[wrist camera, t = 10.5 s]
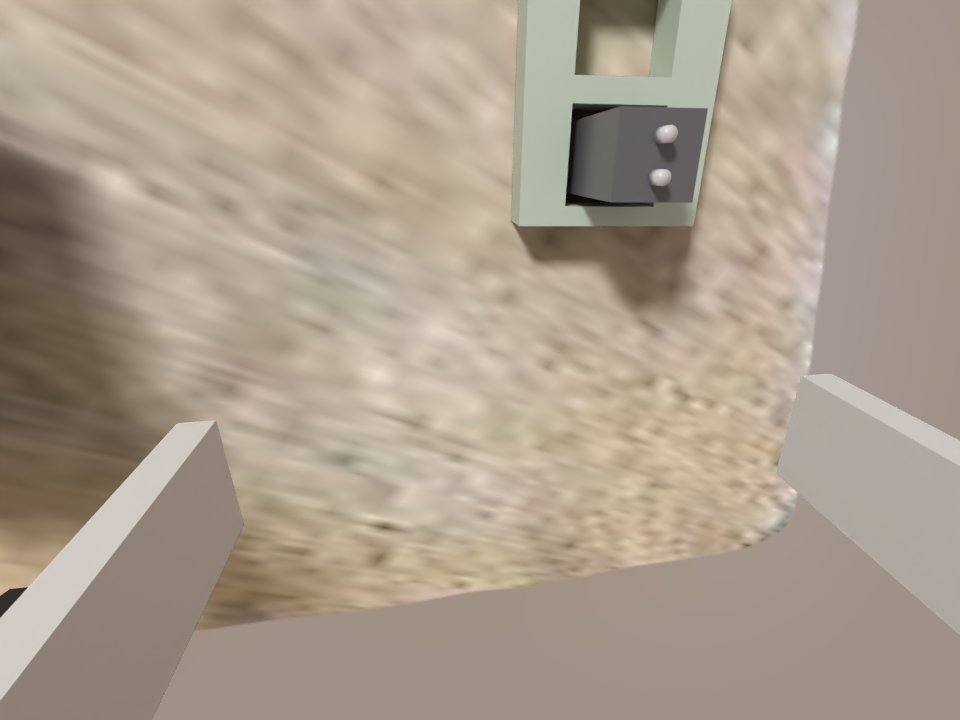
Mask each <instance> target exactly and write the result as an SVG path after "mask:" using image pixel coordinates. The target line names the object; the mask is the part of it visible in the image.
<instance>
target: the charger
mask: <svg viewBox="0 0 960 720" xmlns="http://www.w3.org/2000/svg"><path fill="white" fill-rule="evenodd" d="M707 111H708V108H673V107H629V106H620V107H617V108H614V109H610V110H607V111H604V112H601V113H597V114H594V115H591V116H588V117H584V118H581V119H578V120H575V121H571V132H570V146H569V160H568V173H567V187H566V193H569V194H574V195H579V196H583V197H588V198H593V199H597V200H602V201H607V202H652V203H692V202H693V196H694V190H695V184H696V178H697V172H698V166H699V160H700V154H701V148H702V142H703V135H704V129H705V123H706V117H707Z"/></svg>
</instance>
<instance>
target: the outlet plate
mask: <svg viewBox="0 0 960 720" xmlns="http://www.w3.org/2000/svg"><path fill="white" fill-rule="evenodd" d="M731 2H732V0H658V7H657V15H656V23H655V31H654V39H653V47H652V55H651V64H650V72H649V77H631V76H597V75H575V64H576V50H577V36H578V22H579V9H580V0H518V24H517V53H516V83H515V113H514V143H513V173H512V203H511V221H512V222H514V223H515V224H517V225H518V226H694V220H695V214H696V208H697V202H698V197H699V191H700V185H701V179H702V173H703V167H704V161H705V155H706V149H707V144H708V138H709V132H710V126H711V120H712V114H713V108H714V102H715V96H716V91H717V85H718V79H719V73H720V67H721V61H722V55H723V49H724V44H725V38H726V32H727V26H728V20H729V14H730V8H731ZM620 106H629V107H673V108H708V111H707V117H706V123H705V129H704V135H703V142H702V148H701V154H700V160H699V166H698V172H697V178H696V184H695V190H694V196H693V202H692V203H652V202H633V203H565V201H566V187H567V173H568V160H569V146H570V132H571V118H572V110H610V109H614V108H617V107H620Z"/></svg>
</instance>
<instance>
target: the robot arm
mask: <svg viewBox="0 0 960 720" xmlns="http://www.w3.org/2000/svg"><path fill="white" fill-rule="evenodd" d="M776 474H777V475H778V476H779V477H781V478H782V479H783V480H784V481H785V482H786V483H787V484H789V485H790V486H791V487H792V488H793V489H794V490H795V491H796V492H798V493H799V494H800V495H801V496H802V497H803V498H805V499H806V500H807V501H808V502H809V503H810V504H811V505H812V506H814V507H815V508H816V509H817V510H818V511H819V512H820V513H822V514H823V515H824V516H825V517H826V518H827V519H828V520H829V521H831V522H832V523H833V524H834V525H835V526H836V527H838V528H839V529H840V530H841V531H842V532H843V533H844V534H845V535H847V536H848V537H849V538H850V539H851V540H852V541H853V542H854V543H856V544H857V545H858V546H859V547H860V548H861V549H862V550H864V551H865V552H866V553H867V554H868V555H869V556H870V557H872V558H873V559H874V560H875V561H876V562H877V563H879V564H880V565H881V566H882V567H883V568H884V569H885V570H887V571H888V572H889V573H890V574H891V575H892V576H893V577H894V578H895V579H897V580H898V581H899V582H900V583H901V584H902V585H903V586H905V587H906V588H907V589H908V590H909V591H910V592H911V593H913V594H914V595H915V596H916V597H917V598H918V599H919V600H920V601H922V602H923V603H924V604H925V605H926V606H927V607H928V608H930V609H931V610H932V611H933V612H934V613H935V614H936V615H938V616H939V617H940V618H941V619H942V620H943V621H944V622H946V623H947V624H948V625H949V626H950V627H951V628H952V629H954V630H955V631H956V632H957V633H958V634H959V635H960V441H959V440H957V439H955V438H953V437H951V436H949V435H948V434H946V433H944V432H942V431H940V430H938V429H936V428H934V427H932V426H930V425H928V424H927V423H925V422H923V421H921V420H919V419H917V418H915V417H913V416H911V415H909V414H907V413H905V412H904V411H902V410H900V409H898V408H896V407H894V406H892V405H890V404H888V403H886V402H884V401H882V400H880V399H878V398H876V397H875V396H873V395H871V394H869V393H867V392H865V391H863V390H861V389H859V388H857V387H856V386H854V385H852V384H849V383H848V382H846V381H844V380H842V379H840V378H838V377H836V376H834V375H832V374H821V375H807V376H801V378H800V382H799V386H798V390H797V394H796V398H795V401H794V405H793V409H792V413H791V417H790V421H789V425H788V429H787V433H786V437H785V441H784V444H783V448H782V452H781V456H780V460H779V464H778V468H777V472H776ZM243 526H244V523H243V519H242V516H241V512H240V508H239V504H238V501H237V497H236V493H235V489H234V486H233V482H232V478H231V474H230V471H229V467H228V463H227V459H226V456H225V452H224V448H223V444H222V441H221V437H220V433H219V429H218V426H217V422H216V420H212V421H199V422H186V423H177V424H176V425H175V426H174V427H173V428H172V429H171V430H170V432H169V433H168V434H167V435H166V436H165V437H164V438H163V439H162V440H161V441H160V443H159V444H158V445H157V446H156V447H155V448H154V449H153V450H152V451H151V453H150V454H149V455H148V456H147V457H146V458H145V459H144V460H143V461H142V462H141V464H140V465H139V466H138V467H137V468H136V469H135V470H134V471H133V472H132V473H131V475H130V476H129V477H128V478H127V479H126V480H125V481H124V482H123V483H122V484H121V486H120V487H119V488H118V489H117V490H116V491H115V492H114V493H113V494H112V495H111V497H110V498H109V499H108V500H107V501H106V502H105V503H104V504H103V505H102V506H101V508H100V509H99V510H98V511H97V512H96V513H95V514H94V515H93V516H92V518H91V519H90V520H89V521H88V522H87V523H86V524H85V525H84V526H83V527H82V529H81V530H80V531H79V532H78V533H77V534H76V535H75V536H74V537H73V538H72V540H71V541H70V542H69V543H68V544H67V545H66V546H65V547H64V548H63V549H62V551H61V552H60V553H59V554H58V555H57V556H56V557H55V558H54V559H53V560H52V562H51V563H50V564H49V565H48V566H47V567H46V568H45V569H44V570H43V571H42V573H41V574H40V575H39V576H38V577H37V578H36V579H35V580H34V581H33V583H32V584H31V585H30V586H29V587H26V588H16V589H10V590H8V591H7V592H5V593H4V594H3V595H1V596H0V720H152V718H153V716H154V714H155V712H156V710H157V708H158V706H159V704H160V702H161V700H162V697H163V695H164V693H165V691H166V689H167V687H168V685H169V683H170V680H171V678H172V676H173V674H174V672H175V670H176V668H177V666H178V664H179V661H180V659H181V657H182V655H183V653H184V651H185V649H186V647H187V644H188V642H189V640H190V638H191V636H192V634H193V632H194V630H195V628H196V626H197V623H198V621H199V619H200V617H201V615H202V613H203V611H204V609H205V607H206V604H207V602H208V600H209V598H210V596H211V594H212V592H213V590H214V587H215V585H216V583H217V581H218V579H219V577H220V575H221V573H222V571H223V568H224V566H225V564H226V562H227V560H228V558H229V556H230V554H231V552H232V549H233V547H234V545H235V543H236V541H237V539H238V537H239V535H240V533H241V530H242V528H243Z"/></svg>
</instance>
